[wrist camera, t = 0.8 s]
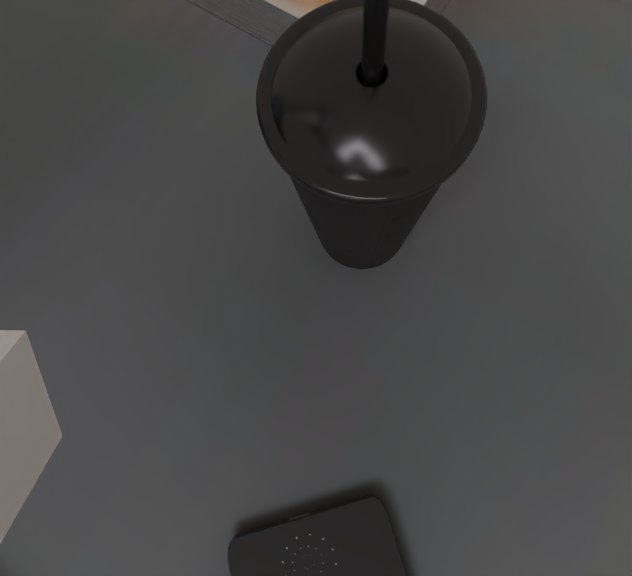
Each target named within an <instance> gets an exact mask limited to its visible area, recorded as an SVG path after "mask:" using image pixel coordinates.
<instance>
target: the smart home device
mask: <svg viewBox="0 0 632 576" xmlns="http://www.w3.org/2000/svg"><path fill="white" fill-rule="evenodd" d="M228 563H229V568H230V573H231V576H406V573H405V570H404V567H403V563H402V560H401V557H400V553H399V550H398V547H397V543H396V540H395V537H394V534H393V530H392V527H391V524H390V520H389V517H388V515H387V512H386V510H385V508H384V506H383V504H382V502H381V501H380V500H379V498H378V497H377V496H375V495H373V494H370V495H367V496H364V497H360V498H357V499H354V500H350V501H347V502H344V503H341V504H337V505H334V506H331V507H327V508H324V509H321V510H317V511H314V512H311V513H310V512H309V513H306V514H302V515H299V516H296V517H293V518H290V519H288V520H285V521H281V522H278V523H275V524H271V525H268V526H265V527H261V528H258V529H255V530H252V531H248V532H245V533H242V534H238V535H236V536H235V537H234V538H233V539H232V540H231V542H230V544H229V547H228Z"/></svg>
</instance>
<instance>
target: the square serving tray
mask: <svg viewBox="0 0 632 576" xmlns="http://www.w3.org/2000/svg"><path fill="white" fill-rule="evenodd" d="M188 1H190V2H192V3H194V4H195V5H197V6H199V7H201V8H203V9H205V10H207V11H208V12H210V13H212V14H214V15H216V16H218V17H220V18H221V19H223V20H225V21H227V22H229V23H231V24H233V25H234V26H236V27H238V28H240V29H242V30H244V31H246V32H247V33H249V34H251V35H253V36H255V37H257V38H258V39H260V40H262V41H264V42H266V43H268V44H270V45H271V46H273V45H274V44H275V43H276V41H277V40H278V39H279V37H280V36H281V35H282V34H283V33H284V32H285V31H286V30H287V29H288V28H289V27H290V26H291V25H292V24H293V23H294V22H295V21H297V20H298V19H299V18H301V17H302V16H304V15H305V14H307V13H308V12H310V11H312V10H313V9H316V8H318V7H320V6H322V5H324V4H327V3H329V2H332V1H335V0H188ZM411 1H414V2H417V3H419V4H422V5H424V6H426V7H428V8H430V9H432V10H434V11H436V12H437V13H439V14H441V13H442V11H443V10H444V8H445V7H446V5H447V4H448V3H449V1H450V0H411Z"/></svg>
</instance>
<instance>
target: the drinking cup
mask: <svg viewBox="0 0 632 576" xmlns="http://www.w3.org/2000/svg"><path fill="white" fill-rule="evenodd" d="M256 106H257V115H258V120H259V125H260V128H261V132H262V135H263V137H264V140H265V142H266V145H267V147H268V149H269V150H270V152H271V154H272V155H273V157H274V158H275V160H276V161H277V163H278V164H279V165H280V166H281V167H282V169H283V170H284V171H285V172H286V173H287V174H288V175H289V176H290V178H291V180H292V182H293V184H294V186H295V188H296V190H297V192H298V195H299V197H300V199H301V201H302V203H303V205H304V207H305V209H306V211H307V214H308V216H309V218H310V220H311V222H312V224H313V226H314V228H315V230H316V233H317V235H318V237H319V239H320V241H321V243H322V245H323V247H324V249H325V250H326V252H327V253H328V254H329V255H330V256H331V257H332V258H333V259H334V260H336V261H337V262H339V263H341V264H343V265H345V266H348V267H351V268H357V269H367V268H373V267H376V266H379V265H381V264H383V263H385V262H386V261H388V260H389V259H390V258H392V257H393V256H394V255H395V254H396V252H397V251H398V250H399V248H400V247H401V245H402V243H403V242H404V240H405V239H406V237H407V236H408V234H409V233H410V231H411V230H412V228H413V227H414V225H415V224H416V222H417V220H418V219H419V217H420V216H421V214H422V213H423V211H424V210H425V208H426V207H427V205H428V204H429V202H430V200H431V199H432V197H433V196H434V194H435V193H436V191H437V190H438V188H439V187H440V185H441V184H442V183H443V182H445V181H446V180H447V179H448V178H450V177H451V176H452V175H453V174H454V173H455V172H456V171H457V170H458V169H459V168H460V167H461V165H462V164H463V163H464V162H465V160H466V159H467V157H468V156H469V154H470V153H471V151H472V150H473V148H474V146H475V144H476V142H477V140H478V138H479V135H480V133H481V130H482V127H483V123H484V120H485V115H486V109H487V88H486V82H485V77H484V73H483V69H482V66H481V64H480V61H479V59H478V57H477V55H476V53H475V51H474V49H473V47H472V46H471V44H470V43H469V41H468V40H467V39H466V37H465V36H464V35H463V34H462V33H461V32H460V30H459V29H458V28H456V27H455V26H454V25H453V24H452V23H451V22H450V21H449V20H447V19H446V18H445V17H443V16H442V15H440V14H439V13H437V12H436V11H434V10H432V9H430V8H428V7H426V6H424V5H422V4H419V3H417V2H414V1H411V0H335V1H332V2H329V3H327V4H324V5H322V6H320V7H318V8H316V9H313V10H312V11H310V12H308V13H307V14H305V15H304V16H302V17H301V18H299V19H298V20H297V21H295V22H294V23H293V24H292V25H291V26H290V27H289V28H288V29H287V30H286V31H285V32H284V33H283V34H282V35H281V36H280V37H279V39H278V40H277V41H276V43H275V44H274V45H273V47H272V49H271V50H270V52H269V54H268V56H267V58H266V60H265V62H264V64H263V67H262V70H261V73H260V76H259V80H258V86H257V94H256Z"/></svg>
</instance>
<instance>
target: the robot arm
mask: <svg viewBox="0 0 632 576" xmlns="http://www.w3.org/2000/svg"><path fill="white" fill-rule="evenodd" d="M61 438H62V433H61V431H60V428H59V425H58V422H57V419H56V416H55V413H54V410H53V408H52V405H51V402H50V399H49V396H48V393H47V390H46V387H45V385H44V382H43V379H42V376H41V373H40V370H39V367H38V364H37V362H36V359H35V356H34V353H33V350H32V347H31V344H30V341H29V339H28V336H27V333H26V331H22V330H0V544H1V542H2V540H3V539H4V537H5V535H6V533H7V532H8V530H9V528H10V526H11V525H12V523H13V521H14V519H15V518H16V516H17V514H18V513H19V511H20V509H21V507H22V506H23V504H24V502H25V500H26V499H27V497H28V495H29V493H30V492H31V490H32V488H33V487H34V485H35V483H36V481H37V480H38V478H39V476H40V474H41V473H42V471H43V469H44V467H45V466H46V464H47V462H48V461H49V459H50V457H51V455H52V454H53V452H54V450H55V448H56V447H57V445H58V443H59V441H60V440H61Z"/></svg>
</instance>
